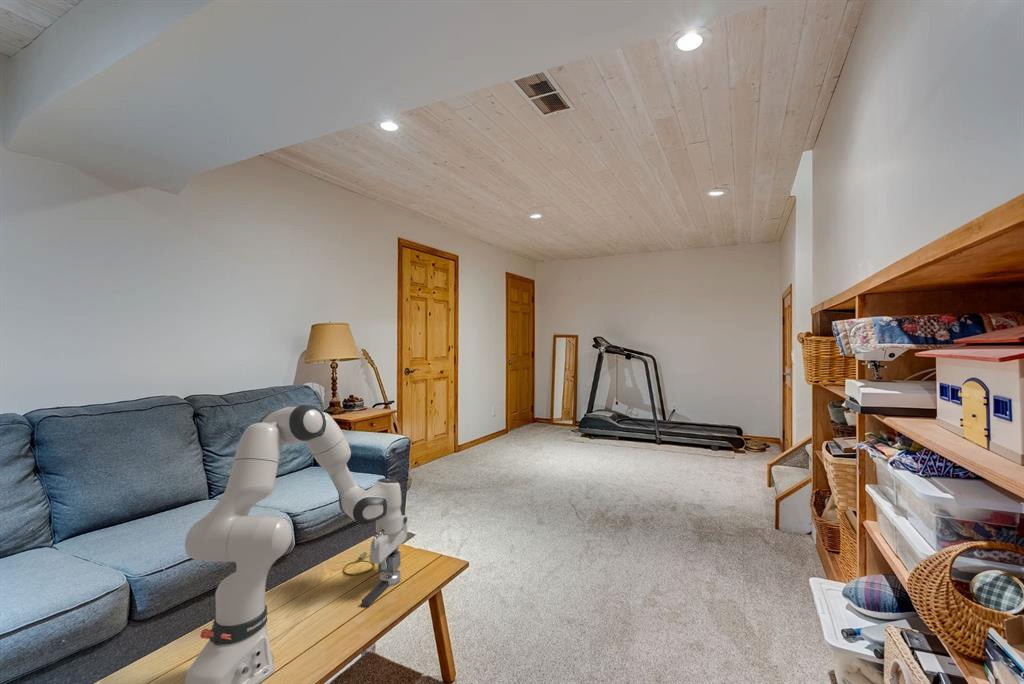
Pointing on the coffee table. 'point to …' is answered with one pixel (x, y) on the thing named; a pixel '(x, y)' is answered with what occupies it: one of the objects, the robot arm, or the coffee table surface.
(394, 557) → the socket
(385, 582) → the ratchet
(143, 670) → the coffee table surface
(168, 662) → the coffee table surface
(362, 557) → the extension cord
